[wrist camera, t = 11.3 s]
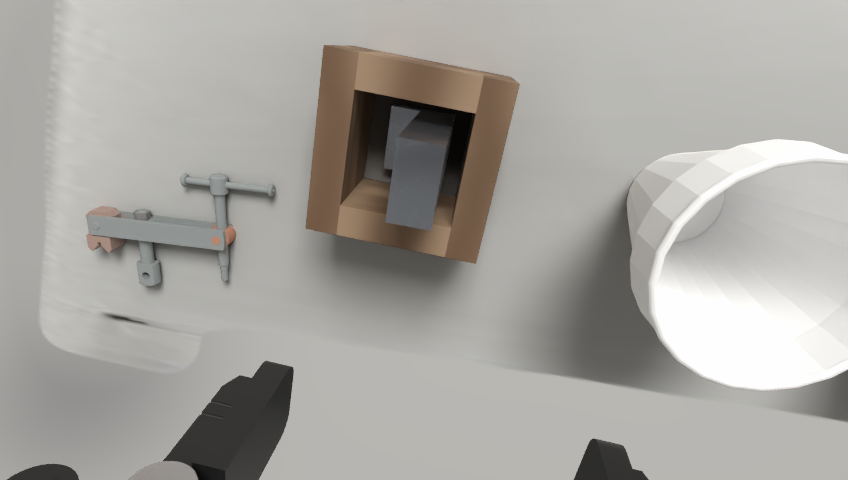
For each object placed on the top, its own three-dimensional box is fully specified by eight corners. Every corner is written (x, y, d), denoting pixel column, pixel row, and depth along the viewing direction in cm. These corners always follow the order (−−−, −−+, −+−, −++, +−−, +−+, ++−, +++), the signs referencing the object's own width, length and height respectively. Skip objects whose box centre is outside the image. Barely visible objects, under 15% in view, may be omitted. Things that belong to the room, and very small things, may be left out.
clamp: (93, 282, 41) (72, 163, 37) (111, 271, 43) (93, 157, 39) (272, 305, 40) (268, 185, 36) (281, 292, 42) (279, 178, 38)
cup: (752, 276, 37) (896, 395, 24) (582, 278, 38) (635, 392, 26) (784, 107, 33) (981, 145, 20) (592, 116, 34) (662, 156, 21)
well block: (511, 77, 34) (519, 84, 27) (475, 226, 38) (475, 263, 31) (352, 45, 34) (323, 45, 27) (334, 197, 38) (305, 228, 31)
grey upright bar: (455, 115, 35) (446, 146, 24) (444, 175, 36) (431, 230, 25) (394, 104, 35) (356, 130, 24) (386, 164, 37) (347, 215, 25)
